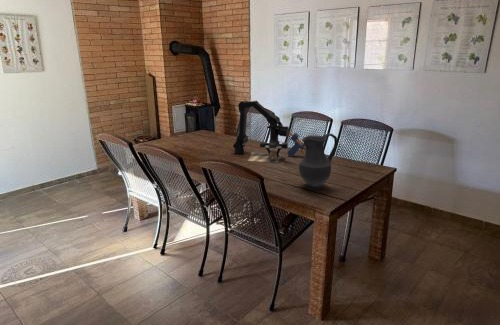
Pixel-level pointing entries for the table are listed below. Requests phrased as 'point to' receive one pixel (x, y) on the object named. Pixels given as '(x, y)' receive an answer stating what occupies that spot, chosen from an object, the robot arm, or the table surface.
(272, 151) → the brown block with peg
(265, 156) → the board
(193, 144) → the table surface
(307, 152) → the pitcher
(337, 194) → the table surface
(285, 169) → the table surface
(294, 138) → the glue gun
